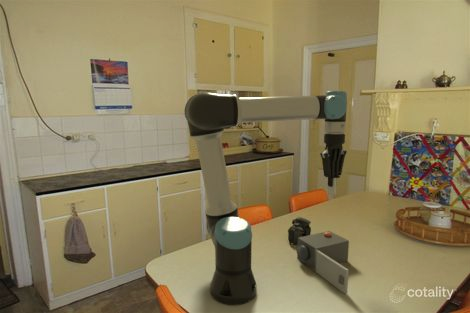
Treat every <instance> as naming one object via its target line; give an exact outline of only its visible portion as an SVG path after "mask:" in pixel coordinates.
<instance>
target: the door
mask: <svg viewBox="0 0 470 313" xmlns="http://www.w3.org/2000/svg"><path fill="white" fill-rule="evenodd" d="M313 270H314V272H315V273H317V274H318V275H319V276H321V277H322V278H323V279H325V280H326V281H328V282H329V283H330V284H331V285H333V286H334V287H336V288H337V289H338V290H339V291H341V292H342V293H343V294H347V293H348V290H349V289H348V287H349V286H348V285H349V270H350V269H348V268H346V267H345V266H343V264H341V263H340V264H339V263H337V262H336V261H334V260H333V259H331V258H330V257H328V256H326V255H325V254H323V253H322V252H320V251H319V250H315V267H314V269H313Z"/></svg>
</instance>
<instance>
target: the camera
mask: <svg viewBox="0 0 470 313" xmlns="http://www.w3.org/2000/svg"><path fill="white" fill-rule="evenodd" d="M311 223H312V221H310V220H308V219H306V218H303V217H302V216H297V217H296V218H295V219H292V222H291V224H292V225H291V226H290V227H289V228H288V229H287V233H288V234H287V236H288V242H289V244H292V245H297V246H298V238H299V237H304V236H308V235H311V233H312V228H311V226H310V225H311Z"/></svg>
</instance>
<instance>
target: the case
mask: <svg viewBox="0 0 470 313" xmlns="http://www.w3.org/2000/svg"><path fill="white" fill-rule="evenodd" d="M349 244H350V241H349V240H348V239H346V238H344V237H343V236H340V235H339V234H336V233H334V232H333V231H330V230H327V231H323V232H319V233H313V234H310V235H308V236H304V237H299V238H298V245H297V247H296V254H297V255H296V256H297V257H296V258H297V259H298V260H300V261H301V262H302V263H304V264H306V265H307V266H308V267H310V268H311V269H313V270H314V267H315V250H319V251H320V252H322V253H323V254H325V255H326V256H328V257H330V258H331V259H333V260H334V261H336V262H337V263H339V264H340V265H341V264H344V263H347V262H349Z"/></svg>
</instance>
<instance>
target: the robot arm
mask: <svg viewBox="0 0 470 313" xmlns="http://www.w3.org/2000/svg"><path fill="white" fill-rule="evenodd" d="M347 105H348V94H347V92H346V91H345V90H328V91H326V93H325V95H292V96H291V95H290V96H289V95H288V96H265V97H262V96H261V97H259V96H257V97H256V96H255V97H253V96H252V97H238V95H236V94H222V93H221V94H220V93H215V92H214V93H212V92H202V93H197V94H194V95H192V96H191V97H190V98H189V99H188V100H187V101H186V104H185V107H184V110H183V111H184V118H185V119H186V120H187V125H188V130H189V131H188V132H189V136H190V138H192V139H193V140H195V144H196V148H197V154H198V160H199V164H200V168H201V174H202V175H201V176H202V179H203V180H202V181H203V186H204V190H205V195H206V196H205V197H206V200H207V207H206V209H205V210H204V213H205V218H206V230H207V233H208V235H209V236H210V239H211V241H212V244H213V246H214V253H215V254H214V255H215V256H214V257H215V259H214V261H215V268H214V269H215V270H214V272H213V276H212V280H211V282H210V289H209V290H210V292H209V293H210V296H211V297H212V298H213V300H215V301H217V302H218V303H221V304H223V305H230V306H231V305H232V306H234V305H242V304H245V303H249V302H251V301H252V300H253V299H254V298H255V297H256V295H257V290H258V289H257V287H258V286H257V282H256V279H255V276H254V273H253V270H252V239H253V232H252V227H251V224H250V222H249V221H248V220H247V219H244V218H241V217H240V215H239V210H238V209H239V208H238V205H237V204H236V203H235V202H234V201H232V193H231V189H230V188H231V186H230V183H229V178H228V171H227V166H226V165H227V164H226V160H225V153H224V148H223V142H222V137H221V136H222V135H223V133H224V132H225V128H234V127H237V126H239V124H243V123H265V122H285V121H303V120H324V127H323V128H324V129H323V132H325V133H324V134H323V144H325V147H324V151H321V152H320V154H319V155H320V158H321V163H322V170H323V177H325V178H327V194H328V195H331V196H336V195H337V186H338V179H340V177H341V175H342V173H343V167H344V162H345V158H346V155H347V150H344V149H343V145H344V144H345V143H346V134H345V132H346V125H347V124H346V121H347V109H348V108H347Z"/></svg>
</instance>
